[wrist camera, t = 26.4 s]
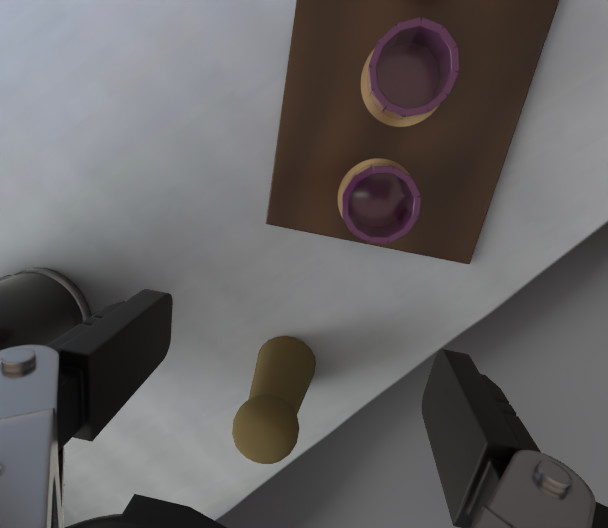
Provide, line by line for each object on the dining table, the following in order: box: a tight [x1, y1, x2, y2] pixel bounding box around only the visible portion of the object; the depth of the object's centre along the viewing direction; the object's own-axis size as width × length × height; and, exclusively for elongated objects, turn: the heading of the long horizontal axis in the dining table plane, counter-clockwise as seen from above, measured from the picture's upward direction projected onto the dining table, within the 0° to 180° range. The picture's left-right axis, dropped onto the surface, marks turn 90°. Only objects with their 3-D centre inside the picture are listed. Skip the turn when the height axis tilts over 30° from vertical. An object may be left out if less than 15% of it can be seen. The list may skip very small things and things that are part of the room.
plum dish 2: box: [342, 163, 421, 243], centre depth 29 cm, size 6×6×4 cm
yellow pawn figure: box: [232, 336, 316, 464], centre depth 32 cm, size 6×6×11 cm
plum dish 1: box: [367, 17, 460, 120], centre depth 26 cm, size 6×6×4 cm
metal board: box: [266, 0, 559, 264], centre depth 28 cm, size 18×26×1 cm
